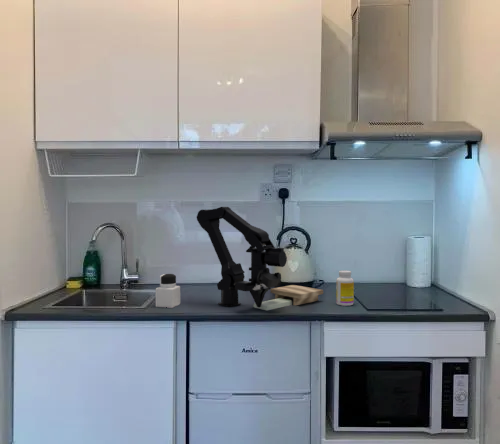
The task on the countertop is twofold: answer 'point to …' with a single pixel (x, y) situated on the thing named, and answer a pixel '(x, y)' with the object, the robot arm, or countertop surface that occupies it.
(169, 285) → the medicine bottle
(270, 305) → the sage plate
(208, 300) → the countertop surface
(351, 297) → the supplement bottle
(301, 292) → the overhang
